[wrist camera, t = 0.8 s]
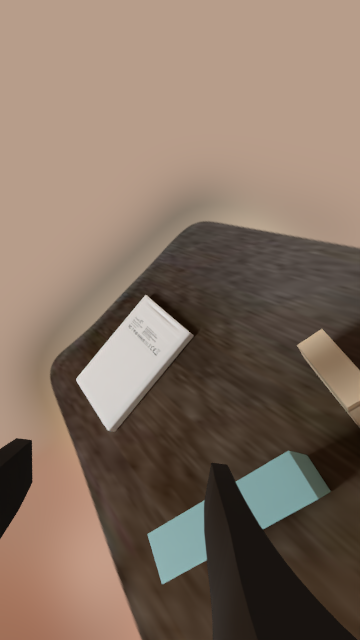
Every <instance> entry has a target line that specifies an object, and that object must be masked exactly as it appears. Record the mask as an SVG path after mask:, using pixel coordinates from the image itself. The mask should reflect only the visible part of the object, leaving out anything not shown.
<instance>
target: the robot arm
mask: <svg viewBox="0 0 360 640" xmlns="http://www.w3.org/2000/svg"><path fill="white" fill-rule="evenodd" d="M31 484H32V441H31V440H26V439H17V438H16V439H15V440H13V441H12V442H10V443H8V444H7V445H5V446H4V447H2V448H1V449H0V538H1V537H2V535H3V534H4V532H5V530H6V529H7V527H8V526H9V524H10V523H11V521H12V519H13V518H14V516H15V515H16V513H17V512H18V510H19V508H20V506H21V504H22V502H23V500H24V498H25V496H26V494H27V492H28V490H29V488H30V486H31ZM204 535H205V545H206V555H207V565H208V574H209V584H210V593H211V604H212V620H213V640H357V639H356V638H355V637H354V636H353V635H352V634H351V633H350V632H348V631H347V630H346V629H345V628H344V627H343V626H342V625H341V624H340V623H339V622H338V621H337V620H336V619H335V618H334V617H333V616H332V615H331V614H330V613H329V612H328V611H327V610H326V608H325V607H324V606H323V605H322V604H321V603H320V602H319V601H318V600H317V599H316V598H315V597H314V595H313V594H312V593H311V592H310V591H309V590H308V589H307V587H306V586H305V585H304V584H303V583H302V582H301V580H300V579H299V578H298V577H297V576H296V575H295V573H294V572H293V571H292V570H291V568H290V567H289V566H288V565H287V563H286V562H285V561H284V559H283V558H282V557H281V555H280V554H279V553H278V551H277V550H276V548H275V547H274V546H273V544H272V543H271V541H270V540H269V538H268V537H267V535H266V534H265V532H264V531H263V529H262V528H261V526H260V525H259V523H258V521H257V520H256V518H255V516H254V515H253V513H252V511H251V510H250V508H249V506H248V504H247V503H246V501H245V499H244V497H243V495H242V493H241V492H240V490H239V488H238V486H237V484H236V482H235V480H234V478H233V476H232V473H231V471H230V469H229V467H228V466H227V465H225V464H217V463H211V468H210V474H209V479H208V485H207V490H206V496H205V501H204Z"/></svg>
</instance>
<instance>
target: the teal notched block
mask: <svg viewBox="0 0 360 640" xmlns="http://www.w3.org/2000/svg"><path fill="white" fill-rule="evenodd" d="M236 484H237V486H238V488H239V490H240V492H241V493H242V495H243V497H244V499H245V501H246V503H247V504H248V506H249V508H250V510H251V511H252V513H253V515H254V516H255V518H256V520H257V521H258V523H259V525H260V526H261V528H262V529H265V528H266V527H268V526H270V525H272V524H274V523H276V522H277V521H279V520H281V519H283V518H285V517H287V516H288V515H290V514H292V513H294V512H296V511H298V510H299V509H301V508H303V507H305V506H307V505H309V504H310V503H312V502H314V501H316V500H318V499H320V498H321V497H323V496H325V495H326V494H328V493H330V492H331V491H330V489H329V488H328V486H327V485H326V483H325V482H324V480H323V479H322V477H321V476H320V474H319V472H318V471H317V469H316V468H315V466H314V465H313V463H312V462H311V460H310V459H309V457H308V456H307V455H305V454H300V453H296V452H292V451H287V452H285V453H284V454H282V455H280V456H279V457H277V458H275V459H273V460H272V461H270V462H268V463H267V464H265V465H263V466H262V467H260V468H258V469H257V470H255V471H253V472H252V473H250V474H248V475H246V476H245V477H243V478H241V479H240V480H238V481H236ZM204 501H205V500H204ZM204 501H203V502H201V503H199V504H198V505H196V506H194V507H193V508H191V509H189V510H187V511H186V512H184V513H182V514H181V515H179V516H177V517H176V518H174V519H172V520H171V521H169V522H167V523H166V524H164V525H162V526H160V527H159V528H157V529H155V530H154V531H152V532H150V533H149V534H148V538H149V541H150V545H151V548H152V551H153V555H154V558H155V562H156V565H157V569H158V572H159V575H160V579H161V582H162V584H164V583H166V582H167V581H169V580H171V579H173V578H175V577H177V576H178V575H180V574H182V573H184V572H186V571H188V570H189V569H191V568H193V567H195V566H197V565H199V564H200V563H202V562H204V561H206V560H207V555H206V545H205V535H204Z"/></svg>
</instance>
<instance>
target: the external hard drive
mask: <svg viewBox="0 0 360 640" xmlns="http://www.w3.org/2000/svg"><path fill="white" fill-rule="evenodd" d="M193 336H194V335H193V334H191V333H190V332H189V331H188V330H187V329H186V328H184V327H183V326H182V325H181V324H180V323H179V322H177V321H176V320H175V319H174V318H173V317H171V316H170V315H169V314H168V313H167V312H166V311H164V310H163V309H162V308H161V307H160V306H159V305H157V304H156V303H155V302H154V301H153V300H152V299H150V298H149V297H148V296H147V295H145V296H144V297H143V299H142V300H141V301H140V302H139V304H138V305H137V306H136V307H135V308H134V309H133V311H132V312H131V313H130V314H129V315H128V317H127V318H126V319H125V320H124V321H123V323H122V324H121V325H120V326H119V328H118V329H117V330H116V331H115V332H114V334H113V335H112V336H111V337H110V338H109V340H108V341H107V342H106V343H105V344H104V346H103V347H102V348H101V349H100V350H99V352H98V353H97V354H96V355H95V356H94V358H93V359H92V360H91V361H90V363H89V364H88V365H87V366H86V367H85V369H84V370H83V371H82V372H81V374H80V375H79V376H78V377H77V379H76V381H77V383H78V384H79V386H80V387H81V389H82V391H83V392H84V394H85V395H86V397H87V399H88V400H89V402H90V403H91V405H92V407H93V408H94V410H95V411H96V413H97V415H98V416H99V418H100V419H101V421H102V423H103V424H104V426H105V427H106V428H107V430H108V431H112V432H115V431H116V430H117V429H118V428H119V426H120V425H121V424H122V423H123V421H124V420H125V419H126V418H127V417H128V415H129V414H130V413H131V412H132V410H133V409H134V408H135V407H136V406H137V404H138V403H139V402H140V401H141V400H142V398H143V397H144V396H145V395H146V393H147V392H148V391H149V390H150V389H151V387H152V386H153V385H154V384H155V383H156V381H157V380H158V379H159V378H160V376H161V375H162V374H163V373H164V372H165V370H166V369H167V368H168V367H169V366H170V364H171V363H172V362H173V361H174V359H175V358H176V357H177V356H178V355H179V353H180V352H181V351H182V350H183V348H184V347H185V346H186V345H187V344H188V342H189V341H190V340H191V339H192V338H193Z"/></svg>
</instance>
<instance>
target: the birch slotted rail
mask: <svg viewBox="0 0 360 640" xmlns="http://www.w3.org/2000/svg"><path fill="white" fill-rule="evenodd" d="M297 346H298V348H299V350H300V351H301V353H302V355H303V357H304V358H305V360H306V361H307V362H308V364H309V365H310V366H311V367H312V369H313V370H314V371H315V372H316V374H317V375H318V376H319V377H320V379H321V380H322V381H323V383H324V384H325V385H326V386H327V388H328V389H329V390H330V391H331V393H332V394H333V395H334V396H335V398H336V399H337V400H338V401H339V403H340V404H341V405H342V406H343V408H344V409H345V410H346V411H347V413H348V414H349V415H350V416H351V418H352V419H353V420H354V421H355V423H356V424H357V425H358V426H359V428H360V370H359V369H358V368H357V367H356V366H355V365H354V364H353V363H352V361H351V360H350V359H349V358H348V357H347V356H346V355H345V354H344V353H343V351H342V350H341V349H340V348H339V347H338V346H337V345H336V344H335V343H334V342H333V340H332V339H331V338H330V337H329V336H328V335H327V334H326V333H325V332H324V330H323V329H321V330H319V331H318V332H316V333H315V334H313V335H312V336H310V337H309V338H307V339H306V340H304V341H303V342H301V343H300V344H298V345H297Z"/></svg>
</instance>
